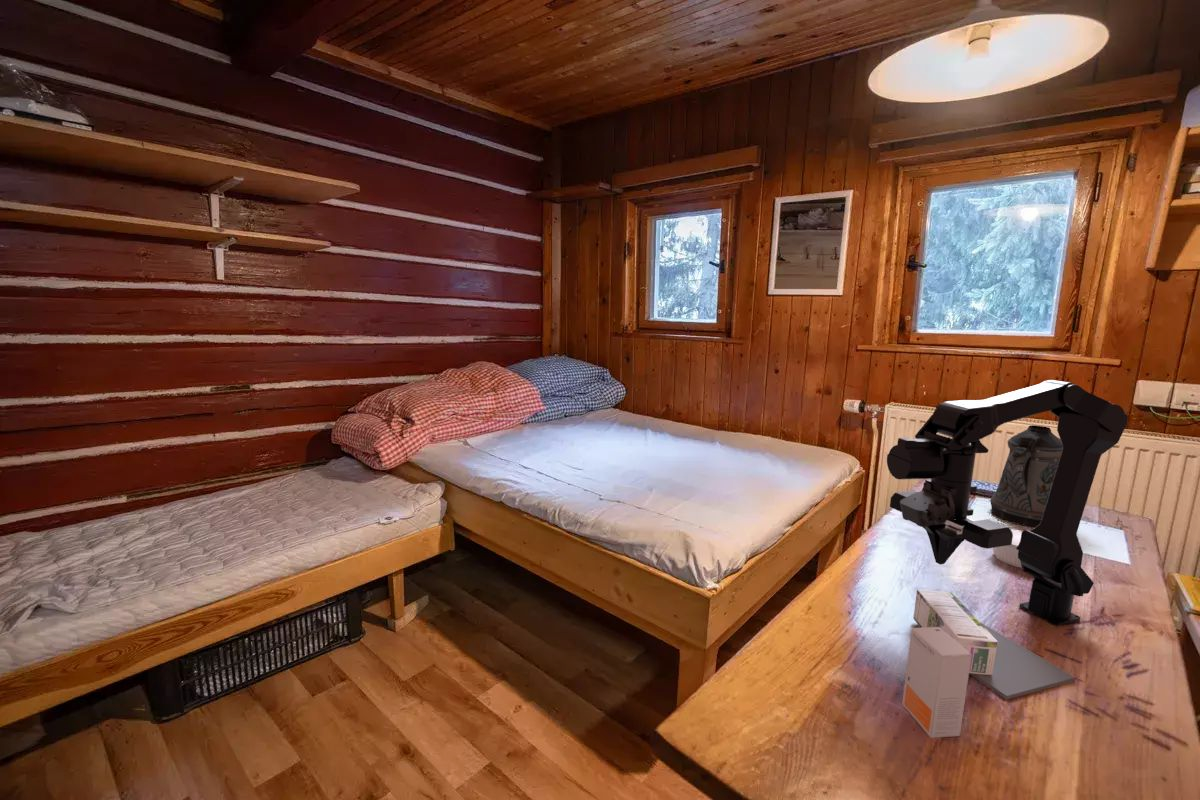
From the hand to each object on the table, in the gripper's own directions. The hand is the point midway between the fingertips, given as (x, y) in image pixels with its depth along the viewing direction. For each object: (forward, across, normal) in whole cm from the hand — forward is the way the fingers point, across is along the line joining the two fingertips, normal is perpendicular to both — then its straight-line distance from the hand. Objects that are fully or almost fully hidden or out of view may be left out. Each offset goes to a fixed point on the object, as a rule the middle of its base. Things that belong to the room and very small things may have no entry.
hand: (939, 563), depth 93 cm
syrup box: (+8, 0, -1) cm, 8 cm away
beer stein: (+11, -30, +67) cm, 74 cm away
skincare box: (+11, +18, -21) cm, 30 cm away
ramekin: (+11, -13, +40) cm, 44 cm away
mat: (+11, +10, 0) cm, 15 cm away
